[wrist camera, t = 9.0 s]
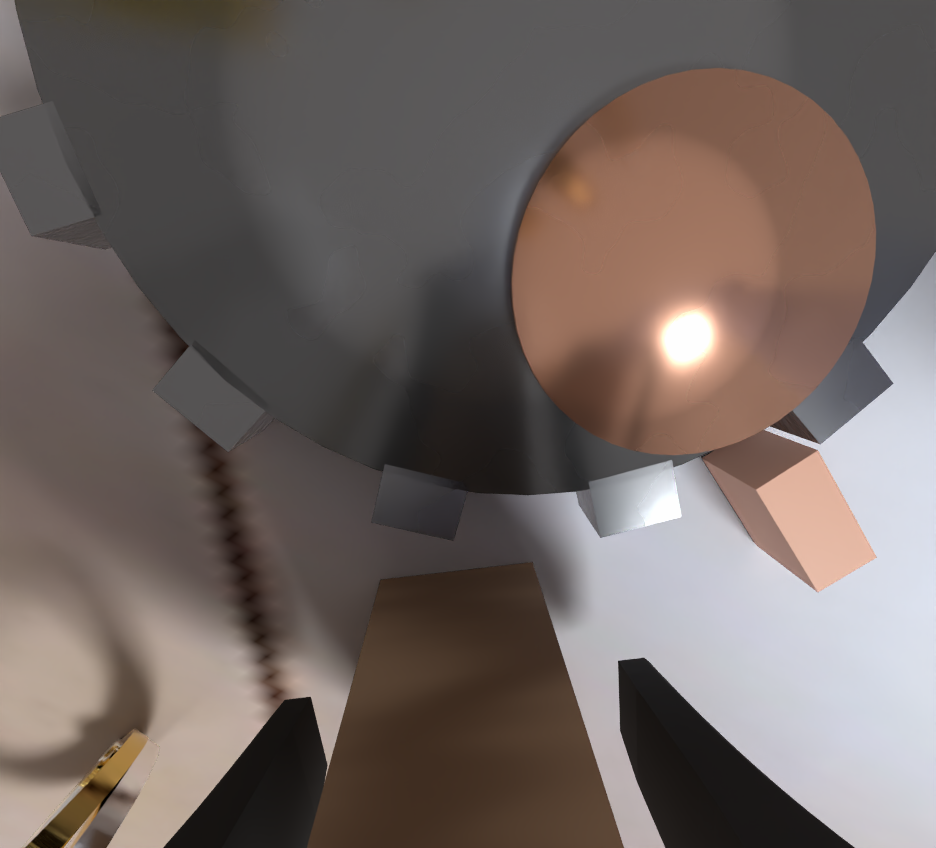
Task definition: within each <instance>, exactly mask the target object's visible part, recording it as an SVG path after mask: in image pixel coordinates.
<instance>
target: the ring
mask: <svg viewBox="0 0 936 848" xmlns="http://www.w3.org/2000/svg"><path fill="white" fill-rule="evenodd" d="M159 753H160V746H159V745H157V744H156V743H154V742H153V741H151V740H150V739H148V736H146V735H144V734H143V733H141V732H140V731H138V730H137V729H133V730H132V731H131V732H129V733H128V734H127V735H126V736H125V737H124V738H123V739H122V740H120V739H117V740H116V741H115V742H114V743H113V744H112V745H111V746H110V747H109V748H108V749H107V750H106V751H105V752H104V753H103V755H102V756H101V757H100V758H99V759H98V763H97V764H96V765H95V766H94V767H93V768H92V769H91V770H90V771H89V772H88V773H87V774H86V775H85V776H84V777H83V779H82V780H81V781H80V782H79V783H78V784H77V785H76V786H75V787H74V788H73V789H72V791H71V792H70V793H69V794H68V795H67V796H66V797H65V798H64V799H63V801H62V802H61V803H60V804H59V805H58V806H57V807H56V808H55V810H54V811H53V812H52V813H51V814H50V815H49V816H48V818H47V819H46V820H45V821H44V822H43V823H42V824H41V825H40V827H39V828H38V829H37V830H36V831H35V832H34V833H33V835H32V836H31V837H30V838H29V839H28V840H27V842H26V843H25V844H24V845H23V846H22V847H21V848H64V846H65V845H66V844H67V843H68V841H69V840H70V839H71V838H72V836H73V835H74V834H75V833H76V831H77V830H78V829H79V828H80V827H81V825H82V824H83V823H84V824H83V825H82V827H81V828H80V829H79V831H78V832H77V833H76V835H75V836H74V837H73V839H72V840H71V841H70V843H69V844H68V846H67V847H66V848H106V847H107V846H108V844H109V843H110V841H111V840H112V838H113V836H114V835H115V833H116V832H117V830H118V828H119V827H120V825H121V824H122V822H123V820H124V819H125V817H126V815H127V814H128V812H129V810H130V809H131V807H132V805H133V804H134V802H135V800H136V799H137V797H138V795H139V794H140V792H141V790H142V788H143V786H144V785H145V783H146V781H147V779H148V777H149V775H150V773H151V771H152V769H153V767H154V765H155V763H156V761H157V758H158V756H159ZM86 819H87V820H86Z"/></svg>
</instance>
